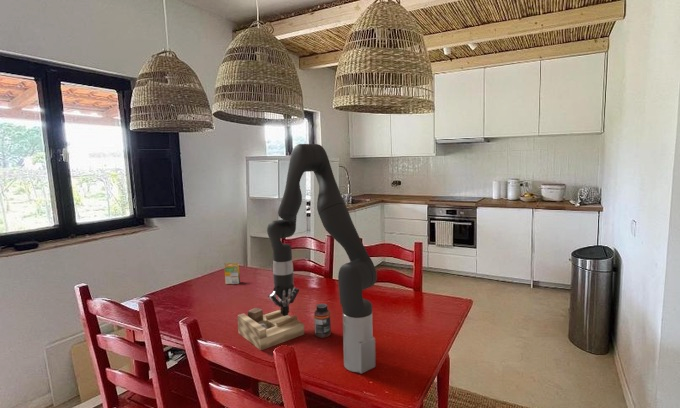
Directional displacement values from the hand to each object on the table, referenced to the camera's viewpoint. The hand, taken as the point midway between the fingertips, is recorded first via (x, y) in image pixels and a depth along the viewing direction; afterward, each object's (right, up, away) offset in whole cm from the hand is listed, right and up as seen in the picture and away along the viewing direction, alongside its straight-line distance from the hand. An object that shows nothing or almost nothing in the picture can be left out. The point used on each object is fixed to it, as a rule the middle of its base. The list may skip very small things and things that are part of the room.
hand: (285, 315), depth 141 cm
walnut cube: (-11, -2, -1) cm, 11 cm away
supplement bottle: (+15, -6, -5) cm, 17 cm away
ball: (-8, -4, -6) cm, 11 cm away
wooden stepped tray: (-5, -6, -3) cm, 8 cm away
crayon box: (-37, -1, +58) cm, 69 cm away
